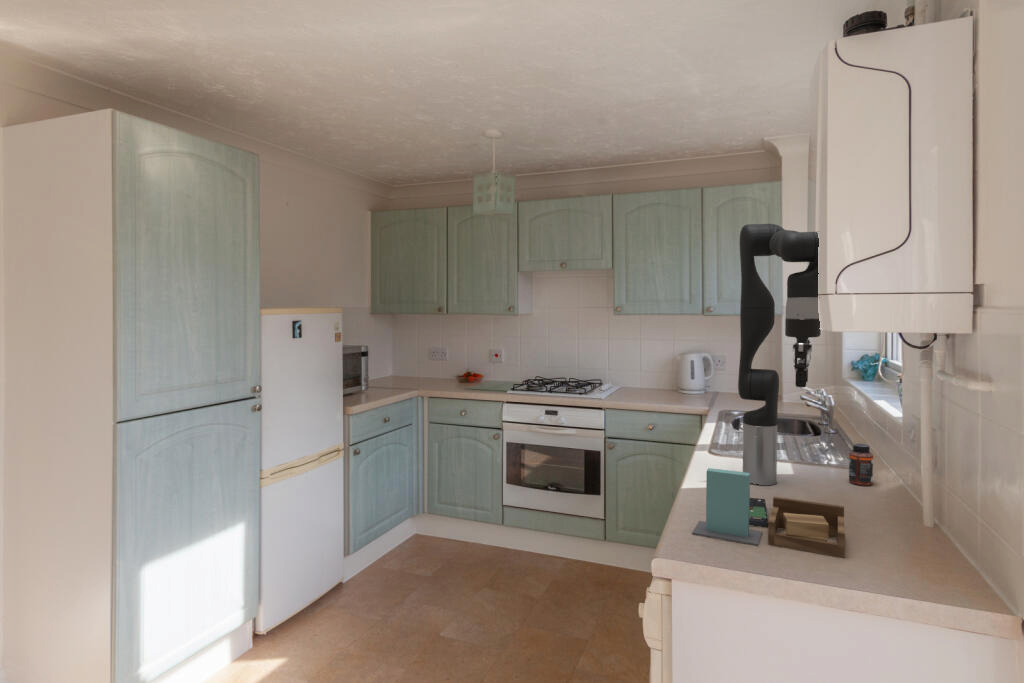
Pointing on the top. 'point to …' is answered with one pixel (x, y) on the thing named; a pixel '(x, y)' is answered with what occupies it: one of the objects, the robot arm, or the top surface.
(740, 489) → the teal board
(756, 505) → the disk drive
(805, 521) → the oak block upper
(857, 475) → the supplement bottle
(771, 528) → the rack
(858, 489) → the top surface
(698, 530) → the grey mat
